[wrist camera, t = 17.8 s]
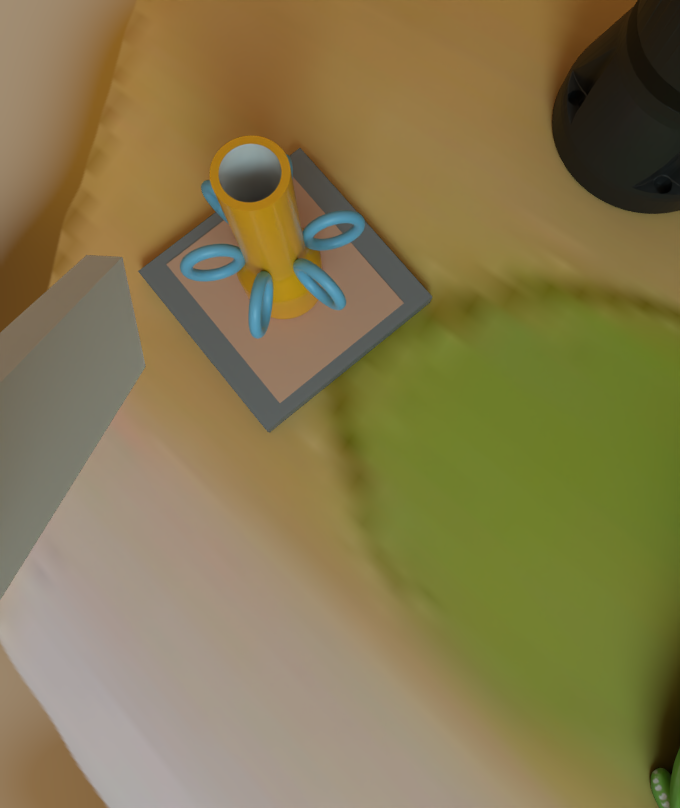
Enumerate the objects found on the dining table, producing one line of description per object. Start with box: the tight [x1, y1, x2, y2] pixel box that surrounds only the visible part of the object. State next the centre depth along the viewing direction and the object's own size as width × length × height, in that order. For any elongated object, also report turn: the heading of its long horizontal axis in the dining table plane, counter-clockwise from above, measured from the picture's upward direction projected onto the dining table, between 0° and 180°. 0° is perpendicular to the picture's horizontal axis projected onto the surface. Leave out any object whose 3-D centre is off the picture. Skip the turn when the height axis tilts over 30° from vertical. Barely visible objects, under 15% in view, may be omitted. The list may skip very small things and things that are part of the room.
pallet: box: [138, 148, 432, 433], centre depth 43 cm, size 16×16×1 cm
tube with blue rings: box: [180, 136, 365, 339], centre depth 35 cm, size 12×10×15 cm
